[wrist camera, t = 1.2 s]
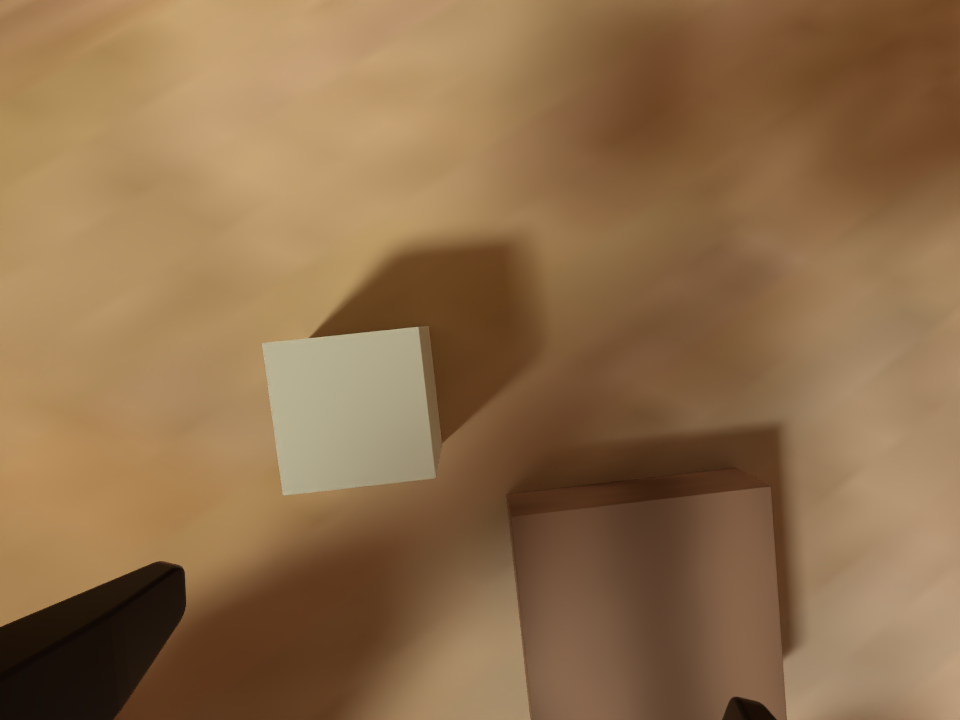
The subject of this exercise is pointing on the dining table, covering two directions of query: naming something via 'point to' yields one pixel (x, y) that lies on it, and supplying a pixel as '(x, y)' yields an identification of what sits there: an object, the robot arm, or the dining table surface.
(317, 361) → the sage cube
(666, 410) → the dining table surface
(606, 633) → the walnut board
